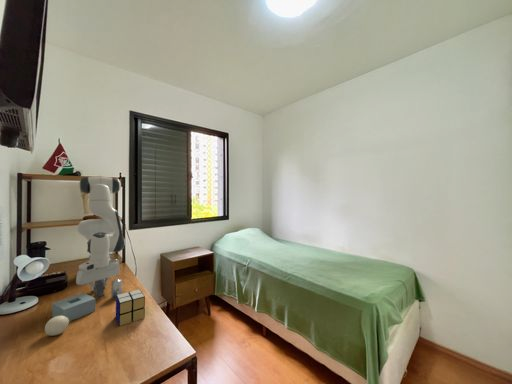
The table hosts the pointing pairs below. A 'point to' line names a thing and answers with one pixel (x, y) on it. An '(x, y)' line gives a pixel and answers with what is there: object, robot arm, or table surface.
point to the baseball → (56, 325)
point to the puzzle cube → (130, 307)
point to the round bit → (116, 288)
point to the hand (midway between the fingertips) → (99, 287)
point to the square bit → (99, 288)
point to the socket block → (74, 306)
